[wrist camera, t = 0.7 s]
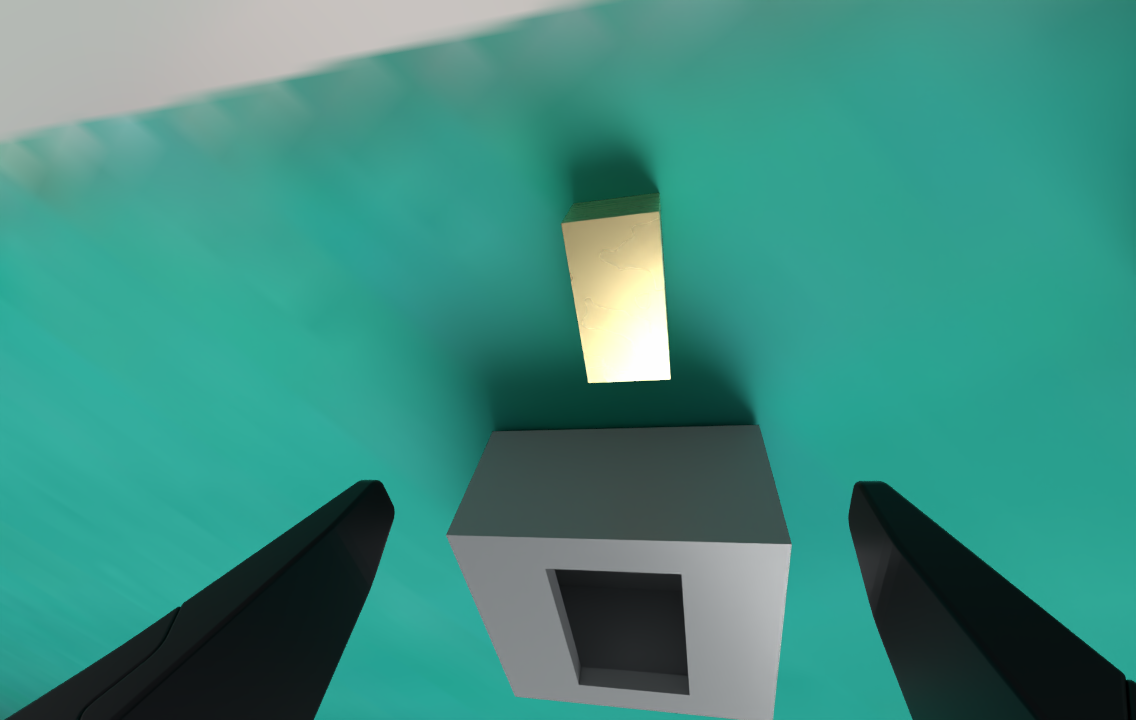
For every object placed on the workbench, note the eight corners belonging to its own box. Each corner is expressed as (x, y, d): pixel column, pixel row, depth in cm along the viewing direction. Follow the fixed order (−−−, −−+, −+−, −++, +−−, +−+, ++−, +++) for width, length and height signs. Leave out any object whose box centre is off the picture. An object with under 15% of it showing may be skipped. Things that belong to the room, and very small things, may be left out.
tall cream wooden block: (659, 192, 16) (659, 211, 14) (669, 344, 19) (670, 379, 17) (573, 203, 17) (561, 223, 15) (596, 349, 20) (588, 383, 18)
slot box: (759, 425, 20) (791, 544, 15) (750, 596, 26) (772, 722, 21) (492, 431, 23) (446, 535, 18) (540, 586, 29) (515, 696, 24)
